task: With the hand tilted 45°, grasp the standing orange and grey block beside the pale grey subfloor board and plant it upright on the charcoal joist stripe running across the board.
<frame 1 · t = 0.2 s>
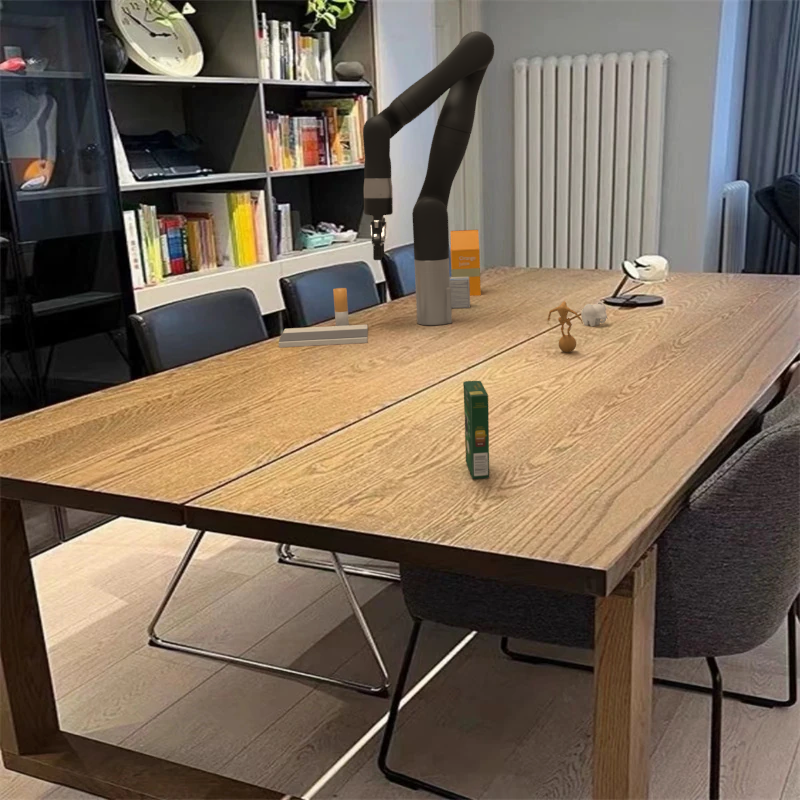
hand: (378, 258, 256), 18 cm above the table, tool pointing down, fingers open, 8 cm apart
subfloor board: (324, 337, 248), on the table
figurine: (565, 354, 218), on the table
orange juice: (466, 294, 305), on the table
elephant figurine: (593, 326, 247), on the table
coffee box: (477, 472, 145), on the table
medicine box: (456, 308, 282), on the table
orange and grey block: (342, 325, 263), on the table
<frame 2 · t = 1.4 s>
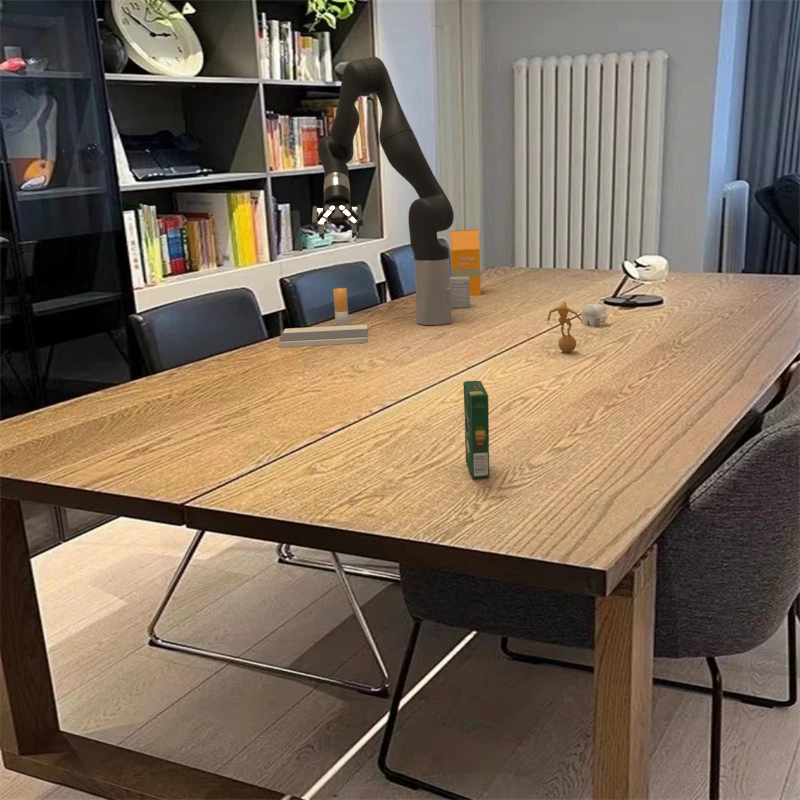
hand: (338, 236, 270), 23 cm above the table, tool tilted 45°, fingers open, 8 cm apart
nothing on the table moved.
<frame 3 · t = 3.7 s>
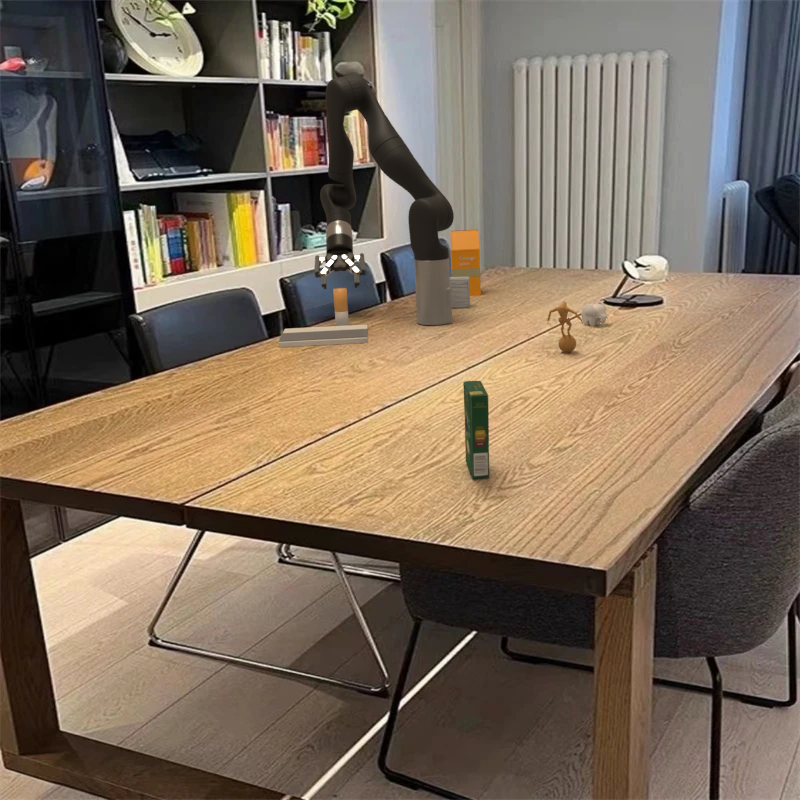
hand: (340, 286, 266), 10 cm above the table, tool tilted 45°, fingers open, 8 cm apart
nothing on the table moved.
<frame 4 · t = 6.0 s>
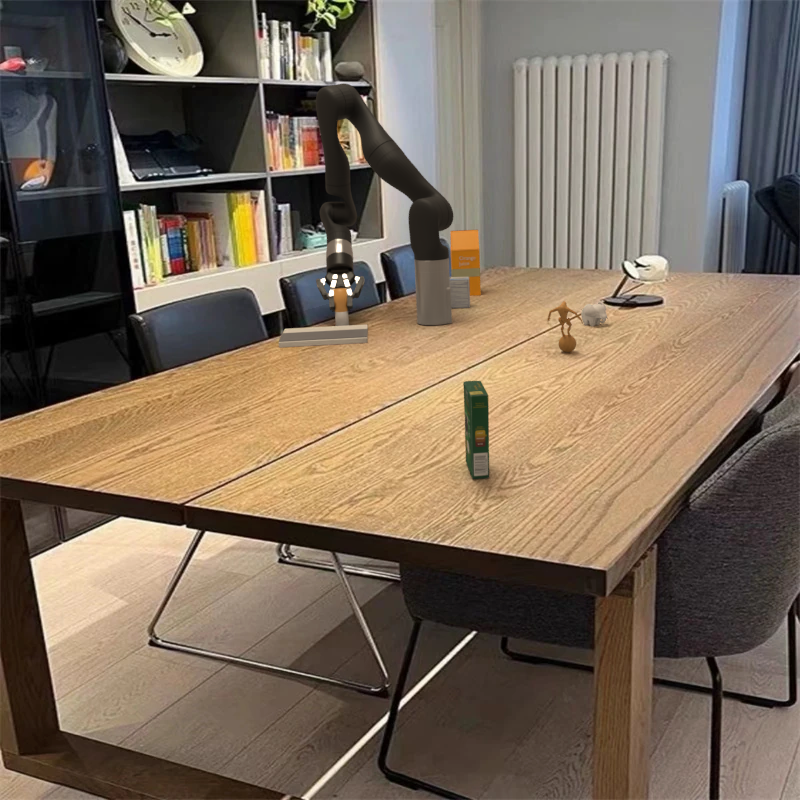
hand: (341, 309, 261), 5 cm above the table, tool tilted 45°, fingers closed on orange and grey block, 3 cm apart
orange and grey block: (342, 325, 263), on the table, touching gripper
everything else where it was.
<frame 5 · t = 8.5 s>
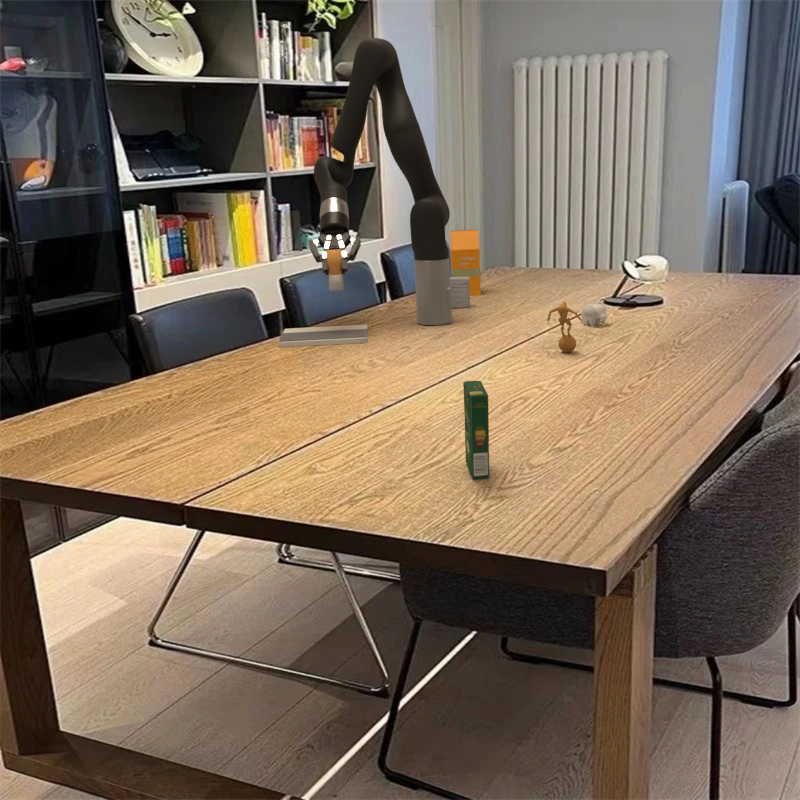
hand: (335, 272, 242), 17 cm above the table, tool tilted 45°, fingers closed on orange and grey block, 3 cm apart
orange and grey block: (336, 289, 244), point 12 cm above the table, touching gripper
everything else where it was.
when the fingers open (7 cm above the table, at t = 10.9 s): orange and grey block drops 1 cm, resting on subfloor board.
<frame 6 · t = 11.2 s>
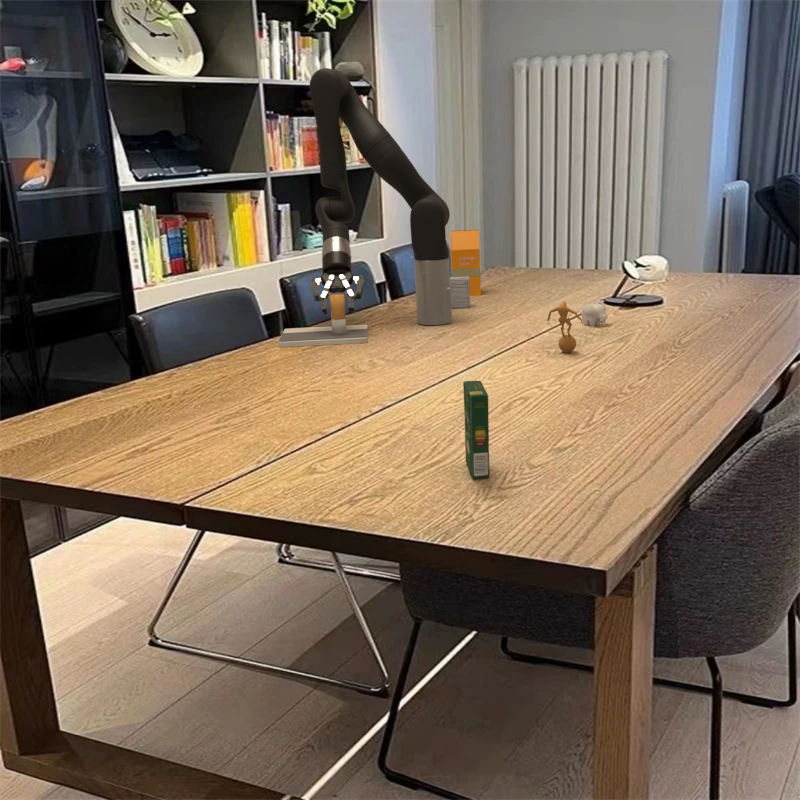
hand: (338, 311, 242), 7 cm above the table, tool tilted 45°, fingers open, 5 cm apart
orange and grey block: (339, 333, 245), point 1 cm above the table, touching subfloor board
everything else where it was.
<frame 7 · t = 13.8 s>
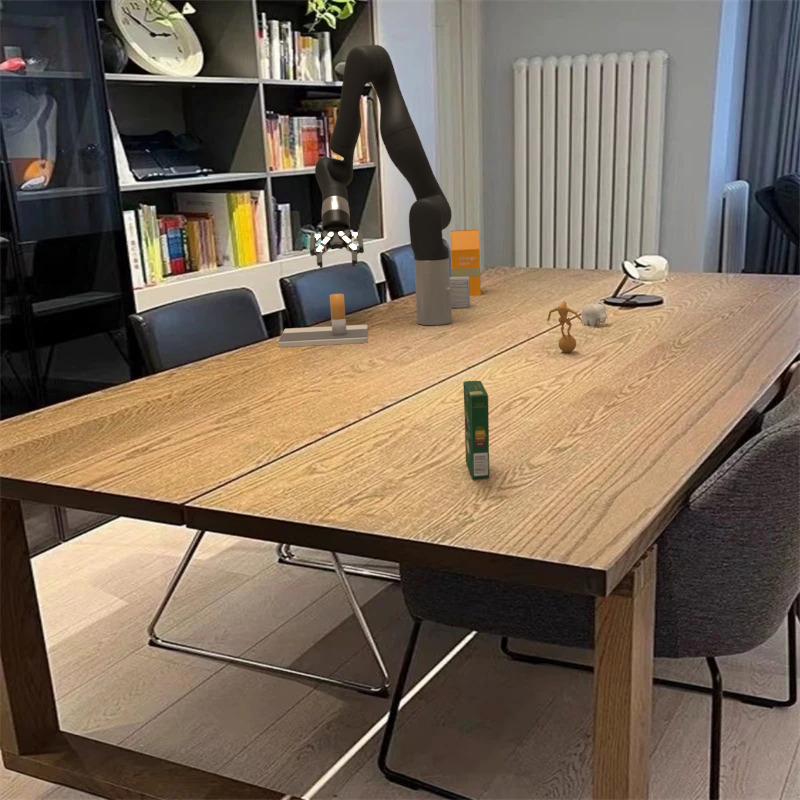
hand: (337, 265, 252), 17 cm above the table, tool tilted 45°, fingers open, 8 cm apart
nothing on the table moved.
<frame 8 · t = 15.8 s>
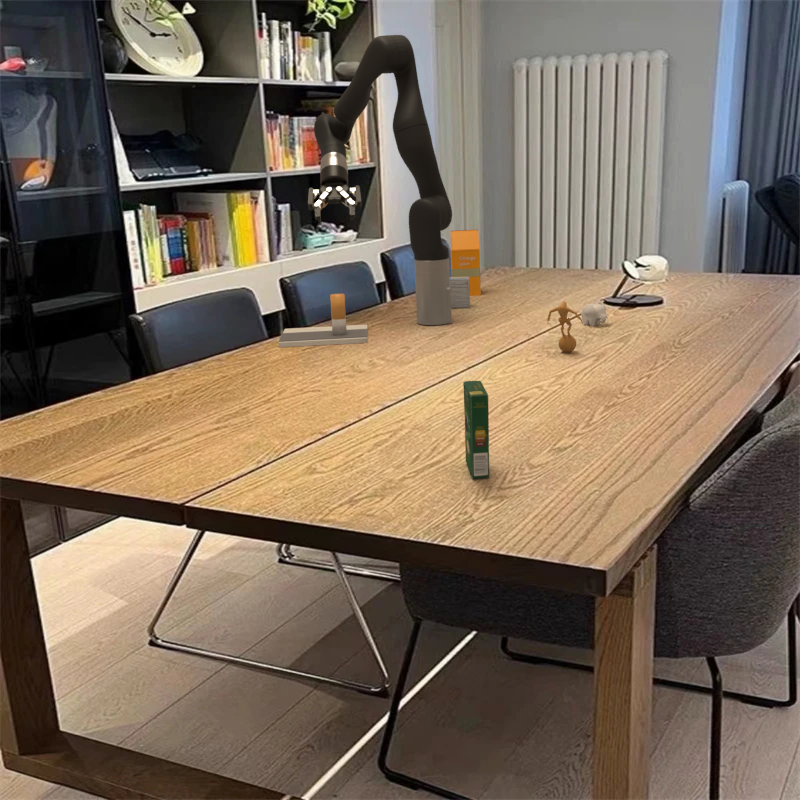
hand: (335, 219, 255), 29 cm above the table, tool tilted 45°, fingers open, 8 cm apart
nothing on the table moved.
at the end: orange and grey block inside the target area (0.5 cm from its centre), point 1.4 cm above the table; orange and grey block tilted 1°; the gripper is holding nothing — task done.
